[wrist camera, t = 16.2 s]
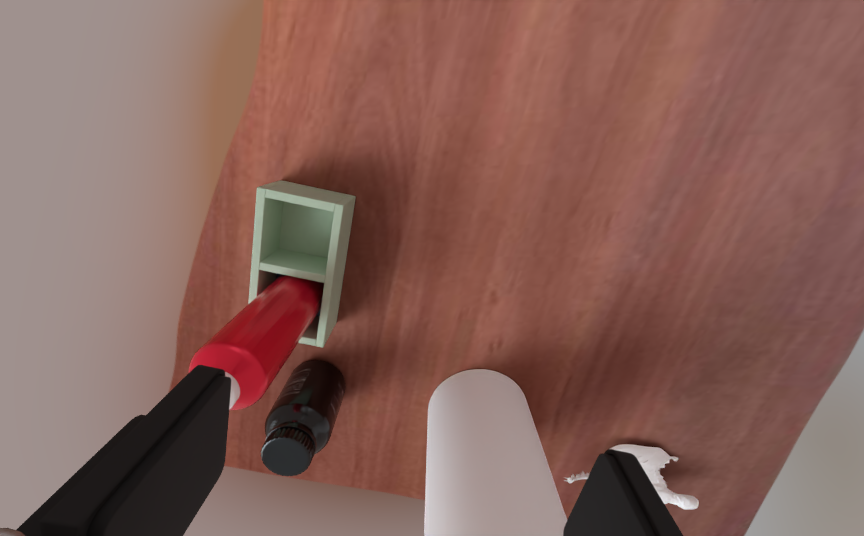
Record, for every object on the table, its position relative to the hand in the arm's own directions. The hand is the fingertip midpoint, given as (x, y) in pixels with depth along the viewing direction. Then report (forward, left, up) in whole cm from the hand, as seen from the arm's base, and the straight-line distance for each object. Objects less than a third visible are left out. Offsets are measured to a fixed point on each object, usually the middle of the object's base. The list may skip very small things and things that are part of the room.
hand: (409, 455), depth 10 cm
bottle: (+11, -12, -33) cm, 37 cm away
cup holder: (+8, -12, -34) cm, 37 cm away
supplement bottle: (+24, -9, -34) cm, 43 cm away
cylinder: (+24, +11, -34) cm, 43 cm away
